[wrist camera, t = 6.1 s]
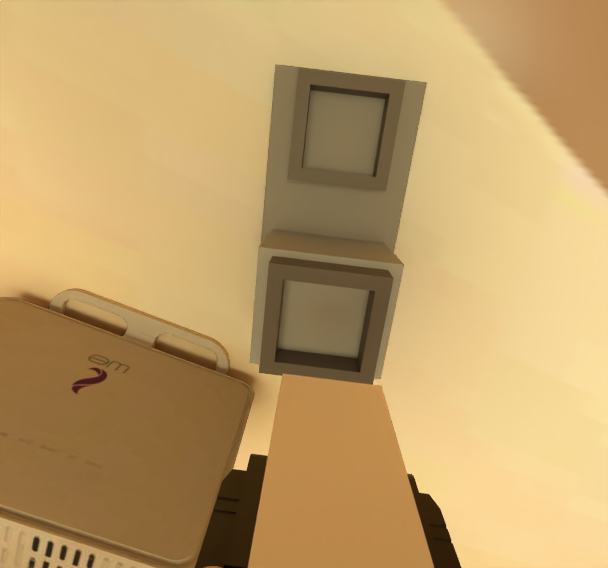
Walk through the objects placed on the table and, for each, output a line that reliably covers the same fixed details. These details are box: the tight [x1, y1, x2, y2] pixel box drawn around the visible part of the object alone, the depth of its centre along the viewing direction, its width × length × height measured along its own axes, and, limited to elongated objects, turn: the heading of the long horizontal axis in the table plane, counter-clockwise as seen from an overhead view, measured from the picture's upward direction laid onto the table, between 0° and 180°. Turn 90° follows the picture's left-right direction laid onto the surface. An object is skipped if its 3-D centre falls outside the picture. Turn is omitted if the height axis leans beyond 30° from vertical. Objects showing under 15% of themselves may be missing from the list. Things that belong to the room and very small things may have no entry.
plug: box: [248, 374, 434, 568], centre depth 11 cm, size 5×4×9 cm
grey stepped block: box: [250, 65, 427, 385], centre depth 27 cm, size 22×12×11 cm, turn 173°
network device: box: [0, 289, 254, 568], centre depth 28 cm, size 26×9×20 cm, turn 68°
